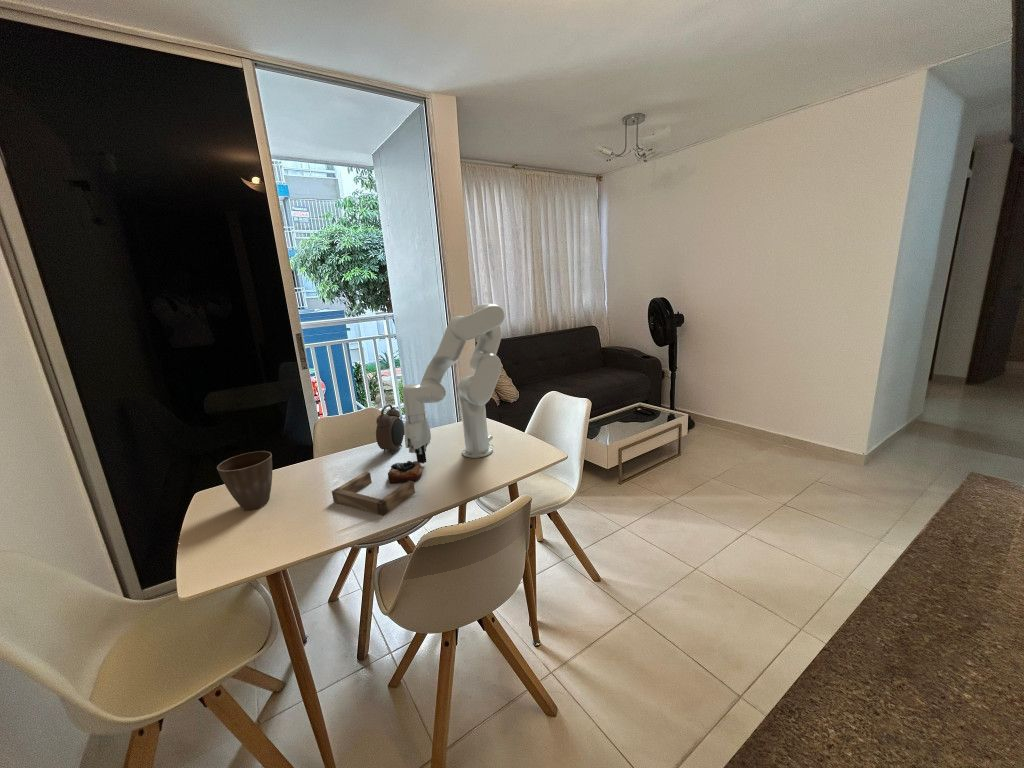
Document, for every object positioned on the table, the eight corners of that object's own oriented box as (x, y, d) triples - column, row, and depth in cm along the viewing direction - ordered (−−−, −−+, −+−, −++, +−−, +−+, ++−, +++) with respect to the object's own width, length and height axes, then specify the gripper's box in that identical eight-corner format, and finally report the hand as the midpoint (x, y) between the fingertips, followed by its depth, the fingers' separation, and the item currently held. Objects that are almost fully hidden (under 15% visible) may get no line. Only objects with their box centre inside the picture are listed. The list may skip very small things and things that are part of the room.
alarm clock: (394, 457, 159) (387, 411, 154) (377, 457, 160) (370, 411, 155) (408, 443, 173) (402, 400, 168) (393, 443, 174) (387, 400, 169)
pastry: (392, 471, 147) (390, 457, 145) (424, 468, 148) (422, 454, 146) (386, 486, 136) (383, 470, 135) (420, 482, 137) (418, 467, 135)
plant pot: (236, 499, 134) (225, 456, 130) (285, 488, 139) (275, 447, 135) (222, 522, 120) (209, 475, 116) (277, 509, 125) (265, 464, 121)
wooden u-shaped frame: (367, 481, 140) (365, 471, 139) (415, 492, 130) (413, 481, 129) (333, 502, 127) (331, 491, 126) (383, 515, 117) (381, 504, 116)
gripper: (421, 410, 153) (426, 453, 157) (394, 422, 140) (400, 469, 145) (436, 411, 150) (441, 455, 154) (410, 424, 137) (416, 472, 141)
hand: (421, 462), depth 149 cm, fingers closed
